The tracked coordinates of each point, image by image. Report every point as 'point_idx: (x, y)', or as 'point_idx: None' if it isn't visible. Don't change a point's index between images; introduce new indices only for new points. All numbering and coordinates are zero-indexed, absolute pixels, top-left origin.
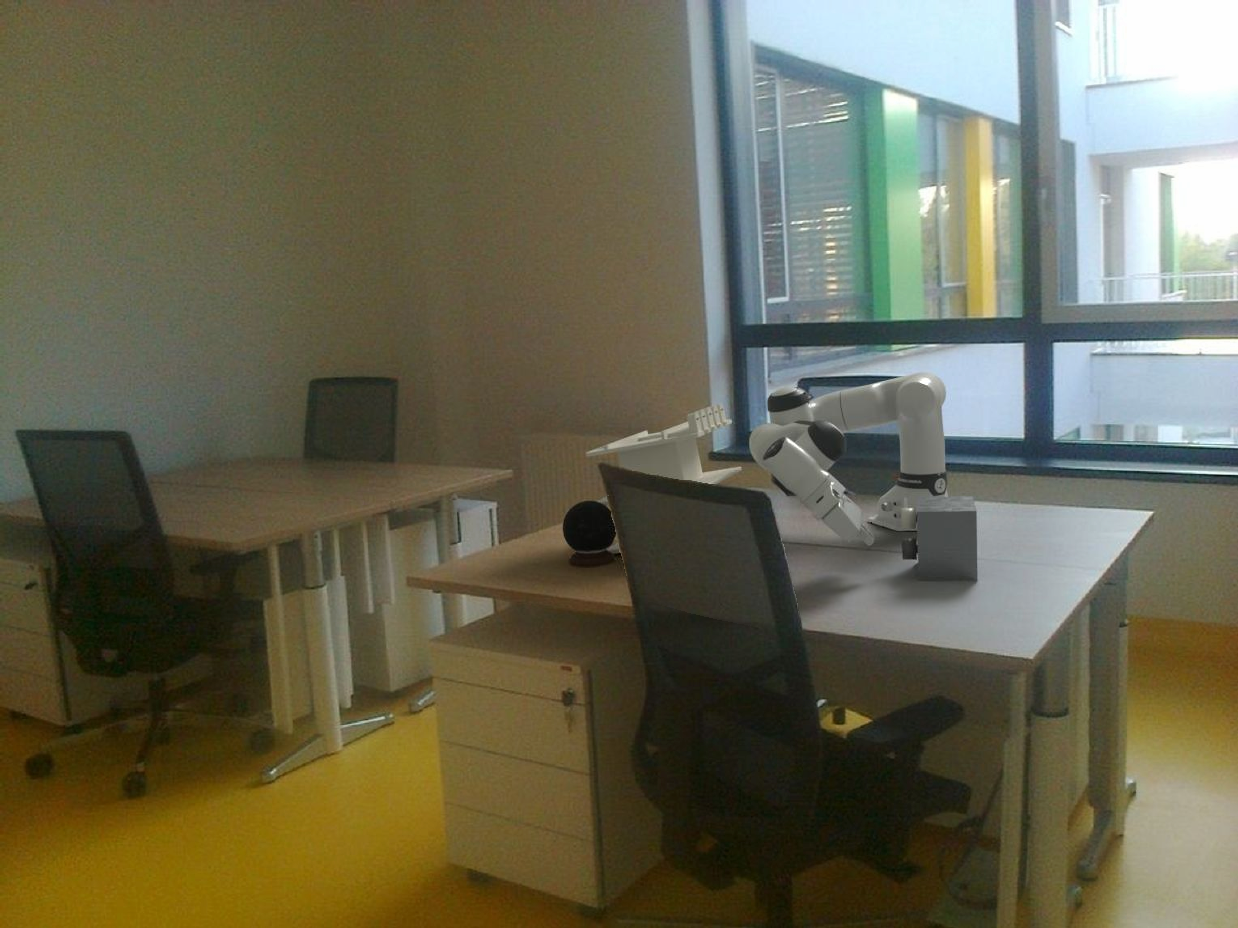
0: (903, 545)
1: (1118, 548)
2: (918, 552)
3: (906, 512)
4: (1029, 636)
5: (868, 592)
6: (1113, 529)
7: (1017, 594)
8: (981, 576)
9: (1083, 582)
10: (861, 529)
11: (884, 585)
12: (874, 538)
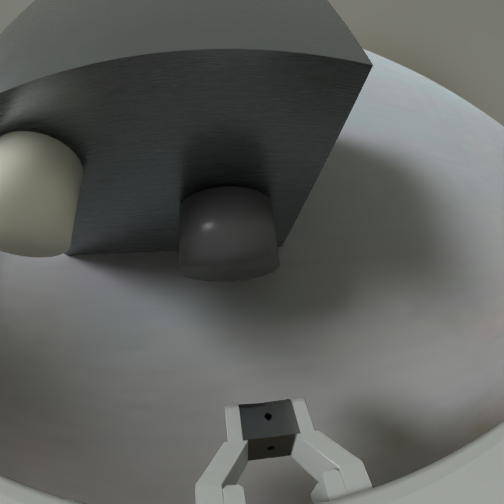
0: (273, 252)
1: None
2: (303, 201)
3: (28, 183)
4: (493, 126)
5: (412, 368)
6: None
7: None
8: None
9: None
10: (364, 474)
11: (343, 340)
12: (248, 404)
